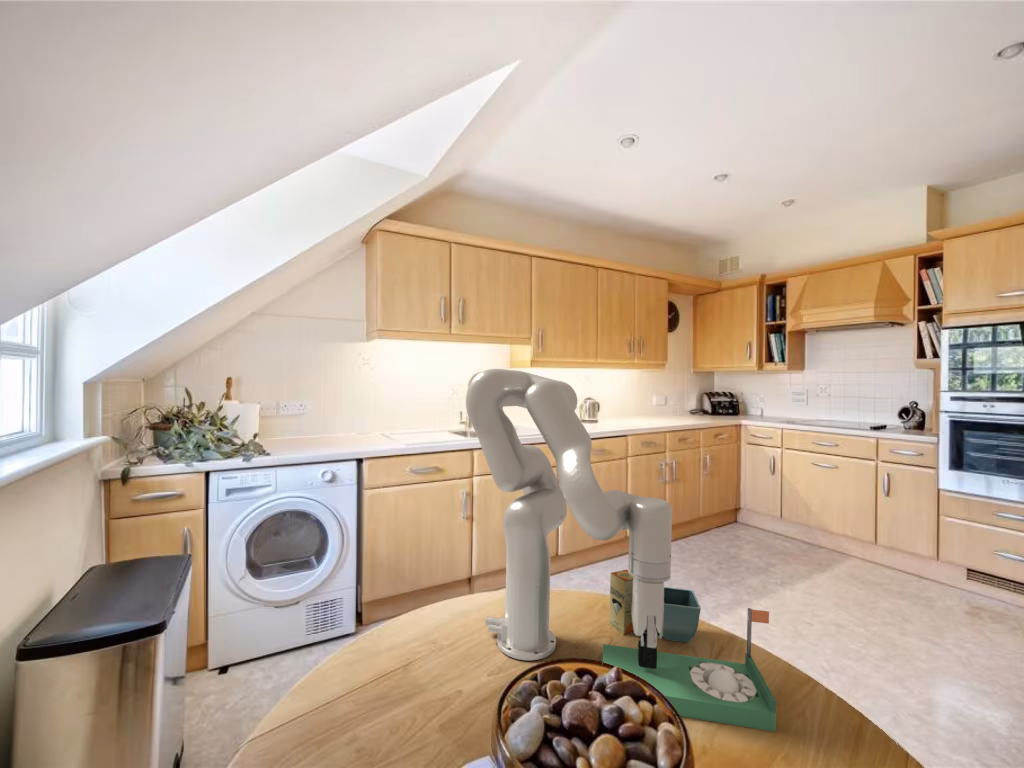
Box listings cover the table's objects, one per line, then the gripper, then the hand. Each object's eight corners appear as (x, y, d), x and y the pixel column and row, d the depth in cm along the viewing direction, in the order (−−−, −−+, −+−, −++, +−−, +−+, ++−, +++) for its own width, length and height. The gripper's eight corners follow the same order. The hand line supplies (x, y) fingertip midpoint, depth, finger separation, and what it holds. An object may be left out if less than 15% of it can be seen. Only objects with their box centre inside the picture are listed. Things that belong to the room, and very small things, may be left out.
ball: (740, 710, 75) (708, 701, 77) (737, 702, 79) (707, 694, 81) (740, 676, 77) (709, 668, 78) (737, 670, 81) (707, 663, 83)
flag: (746, 684, 83) (748, 609, 83) (745, 681, 84) (747, 607, 84) (768, 687, 82) (769, 611, 82) (766, 684, 83) (768, 610, 83)
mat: (602, 703, 77) (603, 674, 77) (602, 658, 90) (603, 634, 90) (775, 731, 71) (776, 700, 72) (749, 680, 84) (749, 653, 84)
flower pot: (700, 650, 94) (701, 608, 94) (657, 644, 95) (658, 602, 95) (692, 628, 102) (693, 589, 102) (652, 623, 104) (653, 585, 104)
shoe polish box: (623, 635, 99) (624, 581, 99) (609, 624, 103) (610, 572, 103) (640, 630, 101) (641, 577, 101) (625, 619, 105) (626, 569, 105)
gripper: (626, 549, 90) (624, 640, 90) (631, 580, 75) (628, 688, 75) (664, 553, 89) (662, 645, 88) (677, 585, 74) (675, 695, 74)
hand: (647, 664), depth 82 cm, fingers closed
